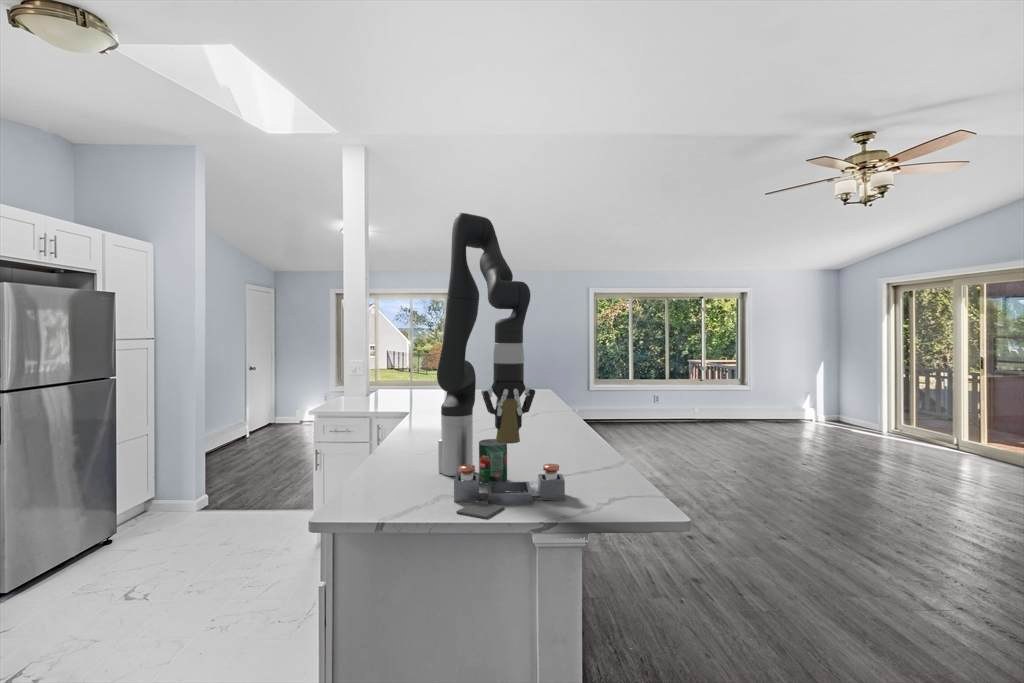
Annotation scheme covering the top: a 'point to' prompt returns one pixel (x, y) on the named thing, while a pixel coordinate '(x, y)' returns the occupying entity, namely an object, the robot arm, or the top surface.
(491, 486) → the housing
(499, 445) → the canned tomato
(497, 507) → the pad
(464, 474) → the plunger
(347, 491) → the top surface
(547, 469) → the plunger
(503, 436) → the cork
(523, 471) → the top surface
